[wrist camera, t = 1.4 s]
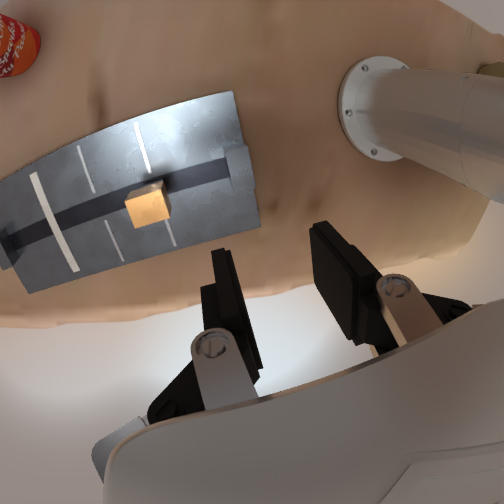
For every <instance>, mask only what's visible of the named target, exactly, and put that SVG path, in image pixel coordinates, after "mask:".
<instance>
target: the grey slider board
mask: <svg viewBox="0 0 504 504" xmlns="http://www.w3.org/2000/svg"><path fill="white" fill-rule="evenodd" d="M160 179H163V181H164V184H165V187H166V190H167V194H168V197H169V200H170V203H171V206H172V209H171V216H170V218H168V219H165V220H162V221H158V222H155V223H152V224H148V225H145V226H142V227H139V228H136V229H135V227H134V225H133V222H132V220H131V217H130V215H129V212H128V210H127V207H126V204H125V202H124V201H125V200H126V198H127V196H128V195H129V193H130V192H131V191H134V190H137V189H140V188H141V187H142V185H145V184H148V183H151V182H154V181H157V180H160ZM253 188H256V184H255V180H254V175H253V170H252V165H251V160H250V155H249V151H248V146H247V145H246V144H245V143H244V142H243V137H242V132H241V128H240V123H239V119H238V114H237V109H236V105H235V100H234V96H233V91H227V92H223V93H218V94H214V95H210V96H206V97H202V98H198V99H194V100H190V101H186V102H183V103H179V104H176V105H172V106H169V107H165V108H162V109H159V110H156V111H153V112H150V113H147V114H144V115H141V116H138V117H135V118H132V119H129V120H127V121H124V122H121V123H118V124H116V125H113V126H111V127H108V128H106V129H103V130H101V131H98V132H96V133H93V134H91V135H89V136H86V137H84V138H82V139H80V140H77V141H75V142H73V143H71V144H69V145H67V146H65V147H62V148H60V149H58V150H56V151H54V152H52V153H50V154H48V155H46V156H45V157H43V158H41V159H39V160H37V161H35V162H33V163H31V164H30V165H28V166H26V167H24V168H22V169H21V170H19V171H17V172H16V173H14V174H12V175H11V176H9V177H7V178H6V179H4V180H2V181H1V182H0V266H1V268H2V270H5V269H8V268H10V267H12V266H13V268H14V270H15V272H16V273H17V275H18V277H19V278H20V280H21V282H22V283H23V285H24V287H25V288H26V290H27V292H28V293H29V294H31V293H34V292H37V291H40V290H44V289H47V288H50V287H53V286H56V285H60V284H63V283H66V282H69V281H73V280H76V279H79V278H82V277H86V276H89V275H92V274H96V273H99V272H102V271H106V270H109V269H112V268H116V267H119V266H122V265H126V264H129V263H133V262H136V261H140V260H143V259H146V258H150V257H153V256H157V255H160V254H164V253H167V252H171V251H174V250H178V249H181V248H185V247H189V246H192V245H196V244H199V243H203V242H207V241H210V240H214V239H218V238H221V237H225V236H229V235H232V234H236V233H240V232H243V231H247V230H251V229H255V228H258V227H261V223H260V218H259V213H258V209H257V204H256V199H255V194H254V189H253Z"/></svg>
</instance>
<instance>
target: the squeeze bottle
mask: <svg viewBox="0 0 504 504" xmlns="http://www.w3.org/2000/svg"><path fill="white" fill-rule="evenodd" d="M478 74H482V75H488V76H495V77H501V78H504V63H502V62H498V63H494V64H491V65H487V66H484V67H481V68H480V70H479V71H478Z"/></svg>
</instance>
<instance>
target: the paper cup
mask: <svg viewBox="0 0 504 504" xmlns="http://www.w3.org/2000/svg"><path fill="white" fill-rule="evenodd" d="M39 49H40V36H39V34H38V32H37V31H36V30H35V29H33V28H31V27H30V26H28V25H26V24H23V23H21V22H19V21H17V20H14V19H12V18H10V17H7V16H5V15H2V14H0V78H3V77H10V76H15V75H19V74H21V73H23V72H25V71H26V70H27V69H28V68H29V67H30V66H31V65H32V64H33V62H34V61H35V59H36V57H37V55H38V53H39Z"/></svg>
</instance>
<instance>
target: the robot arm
mask: <svg viewBox="0 0 504 504" xmlns="http://www.w3.org/2000/svg"><path fill="white" fill-rule="evenodd" d="M338 111H339V118H340V121H341V125H342V128H343V130H344V132H345V134H346V136H347V138H348V139H349V141H350V142H351V144H352V145H353V146H354V147H355V148H356V149H357V150H358V151H360V152H361V153H363V154H364V155H366V156H368V157H370V158H372V159H375V160H378V161H384V162H391V161H397V160H399V159H402V158H404V157H405V158H407V159H410V160H412V161H414V162H417V163H419V164H421V165H423V166H426V167H428V168H430V169H432V170H434V171H436V172H439V173H441V174H443V175H445V176H447V177H449V178H451V179H453V180H455V181H457V182H459V183H461V184H463V185H465V186H467V187H468V188H470V189H472V190H474V191H476V192H478V193H480V194H482V195H484V196H485V197H487V198H489V199H491V200H494V201H496V202H499V203H503V204H504V78H501V77H495V76H488V75H482V74H475V73H467V72H457V71H446V70H431V69H411V68H409V67H408V66H407V65H406V64H404V63H403V62H401V61H400V60H397V59H395V58H392V57H388V56H373V57H368V58H365V59H363V60H361V61H359V62H357V63H356V64H355V65H354V66H353V67H351V69H350V70H349V71H348V73H347V74H346V75H345V77H344V79H343V81H342V84H341V87H340V91H339V97H338ZM346 111H347V113H345V112H346ZM309 234H310V243H311V253H312V264H313V275H314V282H315V285H316V287H317V289H318V291H319V292H320V294H321V296H322V297H323V299H324V301H325V302H326V304H327V306H328V307H329V309H330V311H331V312H332V314H333V316H334V317H335V319H336V321H337V323H338V324H339V326H340V328H341V329H342V331H343V333H344V334H345V336H346V338H347V339H348V340H353V342H354V343H355V345H356V346H358V345H360V344H363V343H366V344H369V346H370V350H371V352H372V355H373V357H374V358H373V359H371V360H368V361H366V362H363V363H361V364H358V365H356V366H353V367H351V368H348V369H345V370H343V371H340V372H337V373H335V374H332V375H329V376H326V377H324V378H321V379H318V380H315V381H312V382H309V383H306V384H303V385H300V386H297V387H293V388H290V389H287V390H284V391H280V392H277V393H273V394H270V395H266V396H263V397H258V395H257V392H256V390H255V388H254V384H255V383H256V382H257V380H258V379H259V378H260V375H259V372H258V370H259V369H262V368H263V365H262V362H261V358H260V355H259V351H258V348H257V344H256V340H255V337H254V333H253V330H252V327H251V323H250V319H249V315H248V312H247V308H246V305H245V301H244V298H243V294H242V290H241V287H240V283H239V280H238V276H237V273H236V269H235V265H234V262H233V258H232V255H231V251H230V250H227V251H225V249H224V248H221V249H217V250H213V251H211V255H212V261H213V268H214V275H215V281H216V283H213V284H210V285H206V286H202V287H201V288H200V290H201V302H202V313H203V323H204V331H203V332H201V333H200V334H199V335H197V336H196V338H195V339H194V340H193V342H192V344H191V355H192V361H191V362H190V363H189V364H188V365H187V366H186V367H185V368H184V369H183V370H182V372H180V374H178V376H177V377H176V378H175V379H174V380H173V381H172V382H171V383H170V384H169V385H168V387H166V388H165V389H164V391H163V392H162V393H161V394H160V395H159V396H158V397H157V398H156V399H155V400H154V401H153V402H152V404H151V405H150V406H149V409H148V412H147V415H146V416H144V417H143V418H141V417H140V416H138V417H136V418H135V419H133V420H132V421H130V422H129V423H127V424H126V425H124V426H122V427H121V428H119V429H118V430H116V431H114V432H113V433H111V434H109V435H108V436H106V437H104V438H103V439H101V440H99V441H98V442H97V443H96V444H95V446H94V447H93V449H92V454H91V456H92V461H93V463H94V465H95V468H96V470H97V472H98V474H99V476H100V478H101V480H102V482H103V484H104V487H103V504H504V299H500V300H496V301H492V302H489V303H487V304H479V305H472V307H470V306H469V305H468V304H466V303H464V302H462V301H459V300H454V299H449V298H444V297H440V296H435V295H430V294H425V293H421V292H420V291H419V289H418V288H417V287H416V285H415V284H414V283H413V281H412V280H410V279H409V278H408V277H406V276H404V275H400V274H388V275H385V276H382V274H381V273H380V272H379V271H378V270H377V269H376V268H375V267H374V266H373V265H372V264H371V262H370V261H369V260H368V259H367V258H366V257H365V256H364V255H363V254H362V253H361V252H360V251H359V250H358V249H357V248H356V247H355V246H354V245H350V244H349V243H348V242H347V241H346V240H345V239H344V238H343V237H342V236H341V235H340V234H339V233H338V232H337V231H336V230H335V229H334V228H333V227H332V226H331V225H330V223H329V222H328V221H322V222H318V223H314V224H313V227H312V228H310V229H309Z"/></svg>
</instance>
